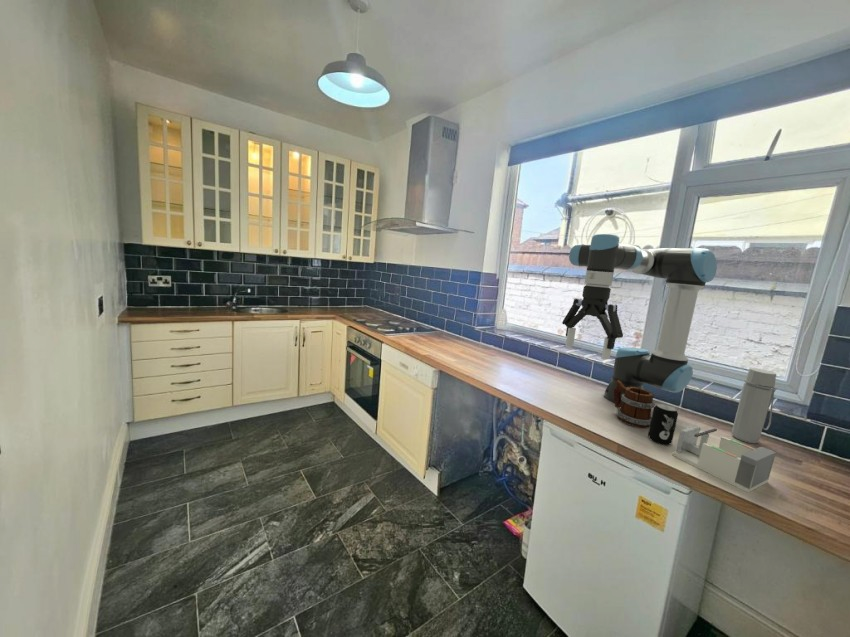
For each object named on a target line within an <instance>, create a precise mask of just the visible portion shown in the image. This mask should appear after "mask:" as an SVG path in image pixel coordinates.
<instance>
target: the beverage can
mask: <svg viewBox="0 0 850 637" xmlns="http://www.w3.org/2000/svg"><path fill="white" fill-rule="evenodd" d="M651 417H652V418H651V423H650V427H648V428H649V429H648V434H647V436H648V438H649V439H650V440H651V441H652V442H654V443H656V444H659V443H660V445H663V444H664V446H667V445H670V444H672V443H673V439H674V434H675V430H676V426H677V420H678V417H679V413H678V408H677V407H675V406H674V405H671V404H668V403H663V402H657V403H655V406H654V408H652V413H651Z"/></svg>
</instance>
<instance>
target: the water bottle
mask: <svg viewBox="0 0 850 637" xmlns="http://www.w3.org/2000/svg"><path fill="white" fill-rule="evenodd" d="M776 379H777V373H776V372H773V371H771V370H767V369H761V368H755V367H750V368H748V371H747V374H746V377H745V379H744V383H743V387H742V390H741V394H740V398H739V403H738V405H737V406H738V407H737V411H736V413H735V416H734V417H735V418H734V422H733V425H732V430H731V436H733V437H734V438H735V439H737V440H739V441H742V442H744V443H748V444H758V443H759V442H760V439H761V436H762V433H763V432H762V431H763V430H765V431H768V430H769V428H770V426H771V424H772V414H773V406H774V396H775V393H776V390H778V388H777V387H775V386H776ZM769 409H770V411H769ZM768 412H769V413H768ZM768 414H769V420H768V424H767V426H766V428H765V427H764V426H765V423H766V419H767V415H768Z"/></svg>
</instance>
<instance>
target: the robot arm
mask: <svg viewBox="0 0 850 637" xmlns="http://www.w3.org/2000/svg"><path fill="white" fill-rule="evenodd" d="M568 255H569V256H568V259H569V262H570V264H571V265H573V266H576V267H585V268H586V272H585V277H584V284H586V285H584V286H583V290H582V294H581V295H582V297H583V299H582V298H573V302H572V305H571V307H570V309H569V311H568V312H567V313H566V315H565V317H564V318H563V320H562V321H561V323H562V325H564V326H566V330H565V331H566V333H565V337H566V341H565V347H566V348H574V345H575V344H574V343H575V338H576V337H575V336H576V330H577V328H576V325H578V324H579V322H580V321H582V320H583V318H585V316H591V317H596V318H597V319H598V321H599V322H600V324H601V327H602V328H603V331H604V332H605V334H606V337H604V340H603V341H604V342H603V347H602V352H601V360H610V359H611V353H612V350H613V349H614V348H615V344H616V339H620V338H624V334H623V329H622V326H621V322H620V318H619V315H618V304H614V303H613V304H608V303H609V302H608V301H609V300H610V298H611V297H610V296H611V291H612V290H611V286H612V285H613V279H614V272H615V270H623V271H631V272H632V273H634V274H637V275H644V276H649V277H654V278H658V279H666V282H665V283H666V284H665V285H667V287H668V288H669V291H668V296H667V301H666V305H665V311H664V314H663V318H662V319H663V320H662V324H661V325H662V326H661V330H660V334H659V339H658V344H657V348H656V349H655V350H653V351H650V350H648V349H645V348H639V347H621V348H618V349H617V351H616V355H615V357H614V365H613V370H612V376H611V380H610V382H609V383H608V385H607V387H606V388H605V389H604V395H603V397H604V398H605V399H607V400H608V401H610V402H612V403H614V404H615V400H614V389H615V387H617V383H616V381H617V380H620V381H621V382H622V384H623V386H624V387H626V388H627V387H636V388H639V389H644V384H646V385H650V386H652V387H655V388H658V389H661V390H662V391H665V392H666V391H667V392H670V393H675V394H677V393H680V392H681V391H683V390H684V389H685V388H686V387H688V385H689V383H690V381H691V380H692V377H693V374H694V371H693V367H692V366H691V365H690V364H688V361H689V358H688V356H687V355H686V354H685V353H686V352H685V351H686V348H687V344H688V338H689V334H690V330H691V325H692V321H693V318H694V317H693V316H694V312H695V308H696V304H697V300H698V295H699V294H698V293H699V291H700V290H702V289H703V288H705V287H706V283H708V282H709V283H710V282H711V281H713V280H714V279H715V276H716V273H717V270H718V269H717V268H718V263H717V257H716V255H715V253H714V252H713V251H712V250H711V249H708V248H700V247H699V248H697V247H693V248H692V247H689V248H688V247H686V248H684V247H681V248H680V247H676V248H672V247H665V248H663V247H662V248H652V249H651V248H649V249H645V248H642V249H641V248H640V247H638V246H635V245H633V244H626V243H625V244H624V243H620V235H617V234H613V233H612V234H611V233H596V234H594V235H593V236H592V237H591V240H590V244H584V243H583V244H576V245H574V246H572V248H571V249H570V251H569V254H568ZM580 308H581V309H580ZM606 311H607V312H606ZM622 394H624V392H622V393H621V394H620V395H621V396H622ZM621 402H622V400H621Z"/></svg>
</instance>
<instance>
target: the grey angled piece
mask: <svg viewBox="0 0 850 637" xmlns="http://www.w3.org/2000/svg"><path fill="white" fill-rule="evenodd" d="M700 430H701V427H700V426H697V425H694V426H691V427H687V428H683V429H680V430H679V436H678V439H677V444H676V448H675V451H678V452H680V453H681V452H684V451H687V450H688V451H690V452H692V453H695V454H697V455H699V456H700V453H701V448H702V444H703V443H706V444H708V441H709V436H710V434H711V433H714V432H717V431H718V429H717V428H712V429H709V430H705V431H702V432H700ZM699 437H701V438H700V442H699V445H698V444H697V443H698V439H699Z"/></svg>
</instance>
